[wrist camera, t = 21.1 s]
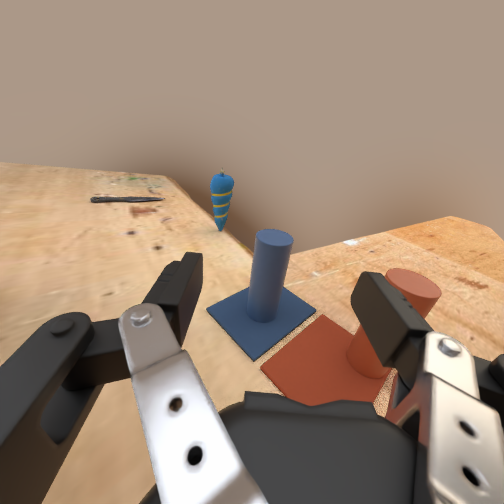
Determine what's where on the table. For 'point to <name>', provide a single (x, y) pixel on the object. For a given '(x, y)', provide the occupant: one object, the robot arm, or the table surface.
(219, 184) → the ornament
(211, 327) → the table surface
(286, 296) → the blue mat
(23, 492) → the robot arm
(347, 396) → the terracotta mat
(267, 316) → the blue cylinder
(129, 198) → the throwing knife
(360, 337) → the terracotta skittle
